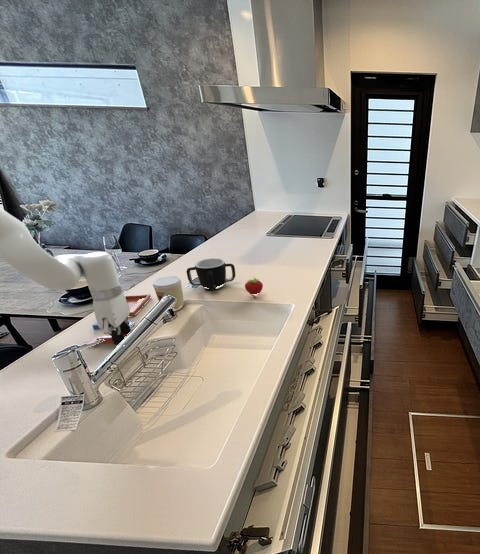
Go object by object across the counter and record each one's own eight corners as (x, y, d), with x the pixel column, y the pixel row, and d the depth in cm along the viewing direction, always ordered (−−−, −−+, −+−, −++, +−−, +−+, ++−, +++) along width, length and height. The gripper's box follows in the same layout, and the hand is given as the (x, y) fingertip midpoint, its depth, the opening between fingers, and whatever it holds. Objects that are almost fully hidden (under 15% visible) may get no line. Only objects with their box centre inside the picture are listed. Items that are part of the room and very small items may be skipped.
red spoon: (131, 336, 104) (130, 332, 104) (126, 342, 101) (125, 338, 101) (90, 339, 102) (88, 335, 101) (83, 346, 99) (81, 341, 98)
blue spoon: (91, 331, 106) (90, 327, 105) (97, 325, 109) (96, 321, 108) (131, 328, 109) (130, 324, 108) (136, 323, 112) (135, 318, 111)
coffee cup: (157, 306, 123) (150, 279, 118) (183, 300, 129) (177, 274, 124) (162, 316, 117) (154, 288, 112) (189, 308, 123) (183, 282, 118)
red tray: (106, 319, 113) (105, 314, 113) (126, 300, 127) (125, 295, 126) (134, 317, 116) (133, 312, 115) (151, 298, 129) (150, 294, 128)
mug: (218, 276, 152) (214, 254, 147) (240, 284, 145) (237, 261, 140) (186, 288, 139) (181, 264, 134) (209, 297, 132) (204, 272, 127)
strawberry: (247, 294, 137) (244, 273, 133) (265, 293, 138) (262, 273, 134) (244, 300, 131) (242, 279, 127) (263, 299, 133) (260, 278, 129)
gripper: (107, 281, 102) (122, 327, 109) (75, 305, 87) (96, 356, 94) (133, 280, 103) (146, 325, 111) (106, 303, 89) (124, 354, 96)
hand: (123, 339), depth 102 cm, fingers open, 3 cm apart
